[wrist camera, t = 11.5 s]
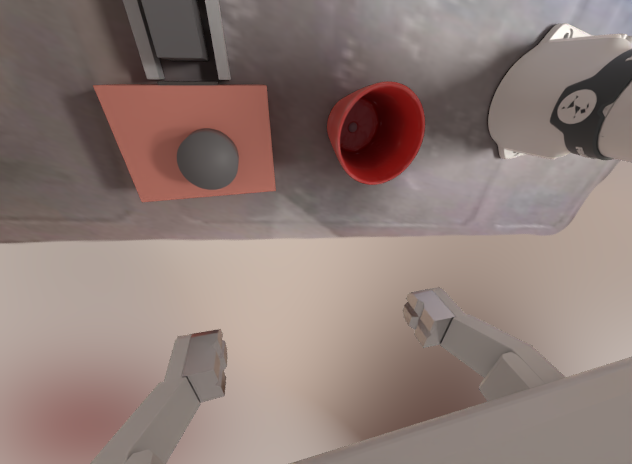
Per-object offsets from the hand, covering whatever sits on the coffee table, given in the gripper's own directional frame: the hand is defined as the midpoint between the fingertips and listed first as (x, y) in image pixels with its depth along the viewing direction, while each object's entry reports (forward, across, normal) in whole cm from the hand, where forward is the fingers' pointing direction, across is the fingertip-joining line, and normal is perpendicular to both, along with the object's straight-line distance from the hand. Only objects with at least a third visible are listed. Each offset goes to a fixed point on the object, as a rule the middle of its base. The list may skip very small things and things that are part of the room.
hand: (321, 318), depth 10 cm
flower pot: (+29, -12, -3) cm, 32 cm away
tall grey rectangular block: (+29, +8, -14) cm, 33 cm away
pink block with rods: (+29, +8, -7) cm, 31 cm away
